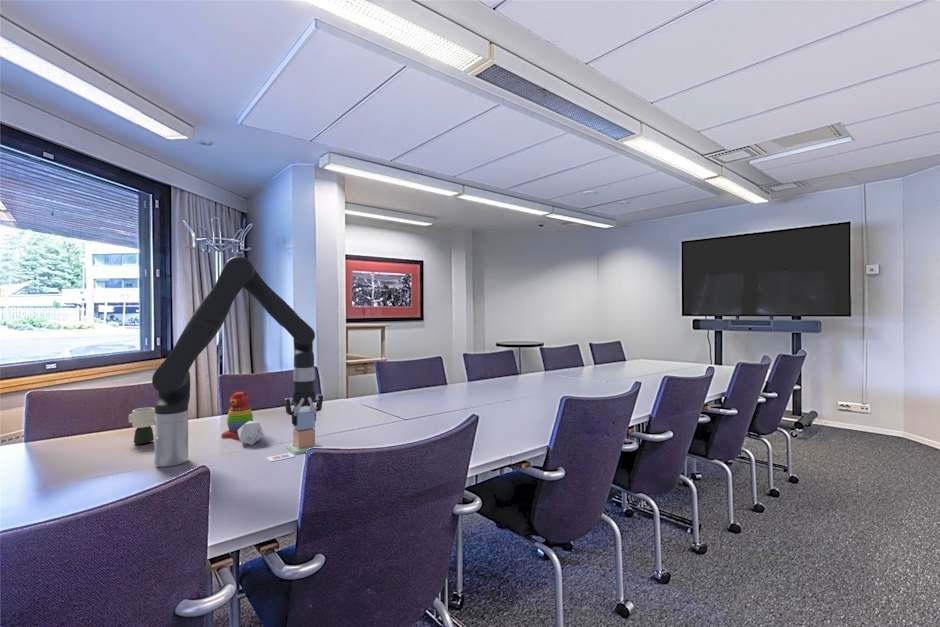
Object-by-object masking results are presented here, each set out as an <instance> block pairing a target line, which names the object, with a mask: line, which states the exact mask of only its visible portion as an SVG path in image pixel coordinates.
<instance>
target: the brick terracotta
mask: <svg viewBox="0 0 940 627" xmlns="http://www.w3.org/2000/svg"><path fill="white" fill-rule="evenodd" d="M292 429H293V430H292V433H293V434H292V442H293V443H292V444H293V445H295V446H296V447H297V448H304V447H309V446H314V445H315V442H316V429H315V428H310V429H304V430H297V429H296V428H294V427H293V428H292Z"/></svg>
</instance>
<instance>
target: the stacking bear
mask: <svg viewBox="0 0 940 627" xmlns="http://www.w3.org/2000/svg"><path fill="white" fill-rule="evenodd" d="M249 398H250V397H249V394H248V392H246V391H233V392H232V395H231V396H230V398H229V404H230V408H229V410H228V413H227V418H226V421H227V422H226V424H227V427H228V430H226V431H224V432H222V433H221V438H223V439H227V438H228V439H234V440H240V439H239V435H238V431H237V430H238V429H239V428H240V427H242V426H243V425H244V424H245V423H247V422H248V421H253V422H254V415H253V411H252V409H251V407H250V405H248V403H249Z"/></svg>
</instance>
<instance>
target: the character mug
mask: <svg viewBox="0 0 940 627" xmlns="http://www.w3.org/2000/svg"><path fill="white" fill-rule="evenodd" d="M128 423H129V424H130V423H131V424H132V425H131V426H132V428H134V429H135V428H136V429H135V431H134V436H133V443H134V444H136V445H142V444H149V443H151V442H152V441H155V435H154V430H153V426H155V407H150V406H149V407H140V408H135V409H133V410H132V413H129V414H128Z"/></svg>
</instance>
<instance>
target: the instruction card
mask: <svg viewBox="0 0 940 627" xmlns="http://www.w3.org/2000/svg"><path fill="white" fill-rule="evenodd" d="M295 457H296V456H295V454H292V452H287V453H283V454H277V455H272V456H267V457H266V459H267V460H268V461H269V462H270V463H272V462H277V461H282V460H286V459H287V460H288V459H291V458H292V459H293V458H295Z"/></svg>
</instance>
